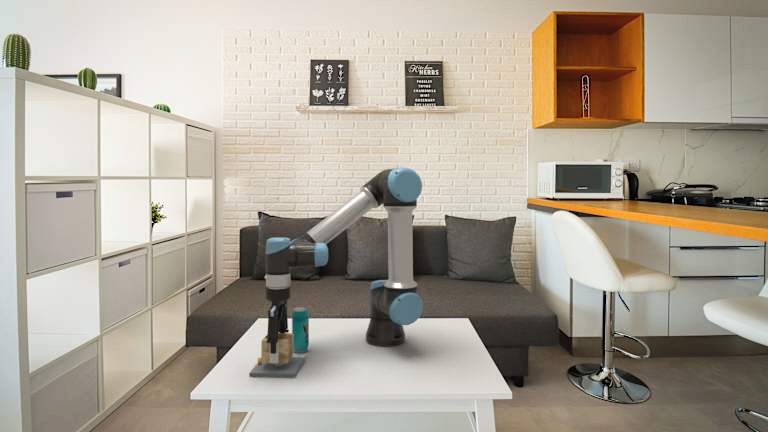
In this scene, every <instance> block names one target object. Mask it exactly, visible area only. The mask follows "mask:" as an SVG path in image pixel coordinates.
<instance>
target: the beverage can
mask: <svg viewBox="0 0 768 432" xmlns="http://www.w3.org/2000/svg"><path fill="white" fill-rule="evenodd" d="M309 315H310V313H309V311H308V307H305V306H298V307H293V308H292V313H291V333H293V353H296V354H298V353H299V354H301V353H302V354H303V353H306V352H307V351H308V349H309V344H310V343H309V342H310V341H309V340H310V339H309V334H310V332H309V330H310V327H309V326H310V324H309V322H310V321H309V319H310V318H309Z"/></svg>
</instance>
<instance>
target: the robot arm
mask: <svg viewBox="0 0 768 432" xmlns="http://www.w3.org/2000/svg"><path fill="white" fill-rule="evenodd" d="M422 190H423V182H422V179H421V178H420V175H419V174H418V173H417V172H416V171H415V170H413V169H412V168H410V167H409V168H408V167H401V166H400V167H395V168H386V169H384V170H381V171H380V172H378V173H377V174H376V175H375V176H373V177H372V178H371V179H369V180H368V182H366V183H364V185H362V186H361V187H360V191H359V192H358V193H356V194H355V195H353V197H351V198H350V199H349V200H347V201H346V202H345V203H343V204H342V205H340V207H338V208H336V209H335V210H334V211H332V213H330V214H329V215H328V216H326V217H325V218H324V219H322V220H321V221H319V222H318V223H317V224H316V225H315V226H313V227H312V228H310V229H309V230H308V231H307V232H306V233H304V234H303V235H302V236H300V237H297V238H295V239H292V240H291V238H289V237H270V238H268V239H267V240H266V242H265V276H264V277H263V278H264V279H265V287H266V288H265V299H266V300H267V301H268V302H269V301H270V302H271V305H270V307H269V309H267V315H268V319H267V334H268V335H267V334H266V335H267V341H266V342H267V343H269V363H279V342H278V334H279V333H290V332H289V331H290V330H289V328H288V327H289V324H288V323H289V322H288V300H289V299H291V287H290V286H291V268H305V267H306V268H307V267H315V268H317V267H324V266H326V265H327V263H328V261H329V247H328V246H327V244H329V242H331V241H332V240H333V239H335V238H336V237H337V236H339V235H340V234H342V232H343V231H345V230H347V229H348V228H349V227H351V225H353V224H354V223H356V221H358V220H359V219H361V218H362V217H363V216H364V215H366V214H367V213H368V212H369V211H370V210H372V209H377V208H379V207H380V206H381V205H382V206H383V208H384V209H385V211H386V212H387V247H388V249H387V254H388V262H387V263H388V267H387V268H388V279H379V280H374V281H372V282H371V283H370V288H369V293H370V295H369V296H370V298H369V299H370V304H369V305H370V309H369V310H370V320H369V323H368V326H367V330H366V332H365V341H366V343H367V344H369V345H372V346H377V347H394V346H398V345H399V346H400V345H402V344H404V343H405V342H406V332H405V329H404V327H403V326H409V325H412V324H414V323H415V322H417V320H418V319H420V317H421V315H422V313H423V309H424V303H423V301H422V298H421V296H419V295H418V283H417V281H415V280H414V269H413V268H414V266H413V265H414V260H413V259H414V257H413V256H414V255H413V252H414V250H413V249H414V248H413V247H414V246H413V244H414V242H413V239H414V238H413V235H414V234H413V211H414V210H415V209H416V208H417V207H418V205H417V204H418V200H417V199H418V198H419V197H420V195H421V194H422ZM272 338H273V339H272Z"/></svg>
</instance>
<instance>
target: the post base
mask: <svg viewBox="0 0 768 432" xmlns="http://www.w3.org/2000/svg"><path fill="white" fill-rule="evenodd" d="M261 358H262V357H258V358H257V363H256V364H255V366H253V368H252V369H251V370H250V371H249V373H248V375H249V378H277V379H278V378H283V379H284V378H285V379H286V378H287V379H289V378H290V379H295V378H296V377H297V375H298V374H299V372H300V370H301V369H302V367H303V365H304V364H305V362H306V357H305V356H304V357H302V356H299V357H298V356H292V357H291V359H290V360H289V362H288V363H287V364H285V363H261Z"/></svg>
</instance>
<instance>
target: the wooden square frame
mask: <svg viewBox="0 0 768 432" xmlns="http://www.w3.org/2000/svg"><path fill="white" fill-rule="evenodd" d="M267 335H268V333H267V334H266V335H265V337H263V338H262V339H261V357H260V358H261V363H269V343H267V342H266V341H267ZM272 339H273V338H272ZM278 342H279V363H285V364H287V363H288V362H289V360H290V359H291V357H294V350H293V333H292V332H288V333H280V332H279V334H278Z"/></svg>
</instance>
